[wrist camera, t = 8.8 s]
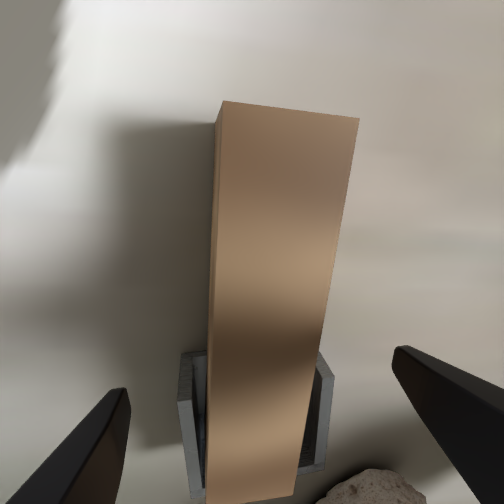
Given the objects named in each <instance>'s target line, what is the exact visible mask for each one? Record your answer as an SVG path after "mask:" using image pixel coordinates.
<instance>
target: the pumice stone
mask: <svg viewBox="0 0 504 504" xmlns="http://www.w3.org/2000/svg"><path fill="white" fill-rule="evenodd" d="M316 504H427V503H426V497H425V496H424V495H423V494H422V493H420V492H418V491H416V490H415V489H414V488H413V487H412V486H411V485H409V484H407V483H406V482H405V480H404V478H403V477H402V476H401V475H400V474H398V473H397V472H394V471H390V470H387V469H386V470H379V469H367V470H364V471H363V472H361V473H359V474H357V475H354V476H353V477H351V478H350V479H348V480H347V481H345V482H342V483H339V484H337V485H336V486H334V487H333V488H332V489H331V490H330V491H328V492H327V495H326V497H325V498H322V499H320V500H319V501H318V502H317V503H316Z"/></svg>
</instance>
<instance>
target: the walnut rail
mask: <svg viewBox="0 0 504 504" xmlns="http://www.w3.org/2000/svg"><path fill="white" fill-rule="evenodd" d="M359 119H360V118H353V117H345V116H338V115H330V114H322V113H315V112H307V111H299V110H292V109H284V108H276V107H268V106H261V105H253V104H245V103H238V102H230V101H223V103H222V106H221V108H220V111H219V114H218V117H217V119H216V122H215V145H214V172H213V200H212V228H211V256H210V283H209V311H208V339H207V367H206V394H205V422H204V436H205V496H206V504H242V503H248V502H254V501H261V500H267V499H273V498H279V497H285V496H291V495H293V491H294V486H295V480H296V475H297V469H298V463H299V458H300V452H301V446H302V441H303V435H304V429H305V424H306V418H307V413H308V407H309V401H310V396H311V390H312V384H313V379H314V373H315V367H316V362H317V356H318V351H319V345H320V339H321V334H322V328H323V322H324V317H325V311H326V305H327V300H328V294H329V289H330V283H331V277H332V272H333V266H334V260H335V255H336V249H337V243H338V238H339V232H340V227H341V221H342V215H343V210H344V204H345V198H346V193H347V187H348V181H349V176H350V170H351V165H352V159H353V153H354V148H355V142H356V136H357V131H358V125H359Z"/></svg>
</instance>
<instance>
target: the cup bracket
mask: <svg viewBox="0 0 504 504" xmlns="http://www.w3.org/2000/svg"><path fill="white" fill-rule="evenodd" d="M206 367H207V351H200V352H193V353H185V354H181V363H180V374H179V385H178V396H177V406H178V412H179V419H180V426H181V433H182V440H183V446H184V453H185V460H186V467H187V474H188V480H189V487H190V494H191V499H194V498H198V497H203V496H205V436H204V422H205V394H206ZM334 378H335V376H334V375H333V373H332V371H331V370H330V368H329V366H328V365H327V363H326V362H325V360H324V358H323V357H322V355H321V353H320V352H319V351H318V356H317V362H316V367H315V373H314V379H313V384H312V390H311V396H310V401H309V407H308V413H307V418H306V424H305V429H304V435H303V441H302V446H301V452H300V458H299V463H298V469H297V475H296V476H298V475H302V474H307V473H311V472H316V471H320V470H324V465H325V456H326V447H327V439H328V430H329V421H330V413H331V404H332V395H333V387H334Z"/></svg>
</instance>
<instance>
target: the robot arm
mask: <svg viewBox="0 0 504 504" xmlns="http://www.w3.org/2000/svg"><path fill="white" fill-rule="evenodd" d="M392 370H393V373H394V374H395V376H396V378H397V379H398V381H399V383H400V385H401V386H402V388H403V390H404V391H405V393H406V395H407V397H408V398H409V400H410V402H411V403H412V405H413V407H414V409H415V410H416V412H417V413H418V415H419V416H420V418H421V419H422V421H423V422H424V424H425V425H426V427H427V428H428V429H429V431H430V432H431V434H432V435H433V437H434V438H435V439H436V441H437V442H438V444H439V445H440V447H441V448H442V449H443V451H444V452H445V454H446V455H447V457H448V458H449V459H450V461H451V462H452V464H453V465H454V466H455V468H456V469H457V471H458V472H459V474H460V475H461V476H462V478H463V479H464V481H465V482H466V484H467V485H468V486H469V488H470V489H471V491H472V492H473V493H474V495H475V496H476V498H477V499H478V501H479V502H480V503H481V504H504V389H502V388H500V387H498V386H496V385H494V384H491V383H489V382H487V381H485V380H483V379H481V378H478V377H476V376H474V375H472V374H470V373H467V372H465V371H463V370H461V369H459V368H457V367H454V366H452V365H450V364H448V363H446V362H443V361H441V360H439V359H437V358H435V357H433V356H430V355H428V354H426V353H424V352H422V351H419V350H417V349H415V348H413V347H411V346H408V345H404V346H398V347H396V348H395V350H394V355H393V360H392ZM130 418H131V405H130V401H129V397H128V392H127V389H126V388H124V387H122V388H116V389H111V390H110V391H109V392H108V393H107V394H106V395H105V396H104V397H103V398H102V399H101V400H100V401H99V403H98V404H97V405H96V406H95V407H94V408H93V409H92V410H91V411H90V412H89V413H88V415H87V416H86V417H85V418H84V419H83V420H82V421H81V422H80V423H79V424H78V425H77V426H76V428H75V429H74V430H73V431H72V432H71V433H70V434H69V435H68V436H67V437H66V438H65V439H64V441H63V442H62V443H61V444H60V445H59V446H58V447H57V448H56V449H55V450H54V451H53V452H52V454H51V455H50V456H49V457H48V458H47V459H46V460H45V461H44V462H43V463H42V464H41V466H40V467H39V468H38V469H37V470H36V471H35V472H34V473H33V474H32V475H31V476H30V477H29V479H28V480H27V481H26V482H25V483H24V484H23V485H22V486H21V487H20V488H19V489H18V490H17V492H16V493H15V494H14V495H13V496H12V497H11V498H10V499H9V500H8V501H7V502H6V504H115V501H116V497H117V493H118V489H119V485H120V480H121V476H122V471H123V465H124V458H125V452H126V445H127V438H128V432H129V425H130Z"/></svg>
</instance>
